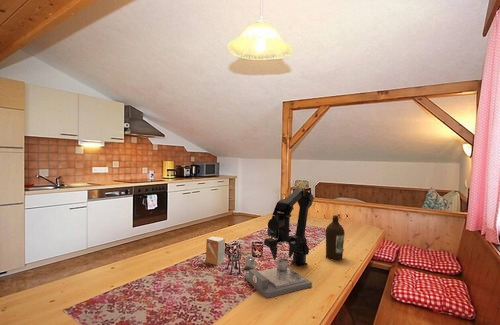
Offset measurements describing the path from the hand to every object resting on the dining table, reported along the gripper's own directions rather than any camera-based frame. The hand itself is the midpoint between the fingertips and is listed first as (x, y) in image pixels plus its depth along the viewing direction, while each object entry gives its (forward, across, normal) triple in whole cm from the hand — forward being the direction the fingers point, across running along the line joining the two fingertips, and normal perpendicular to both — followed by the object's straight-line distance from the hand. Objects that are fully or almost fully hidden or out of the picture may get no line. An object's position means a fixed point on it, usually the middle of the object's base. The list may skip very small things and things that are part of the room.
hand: (282, 258), depth 132 cm
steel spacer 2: (+6, 0, 0) cm, 6 cm away
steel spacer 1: (+9, +10, -15) cm, 20 cm away
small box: (+9, +24, -29) cm, 39 cm away
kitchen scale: (+9, +6, +5) cm, 12 cm away
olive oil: (+9, -43, -8) cm, 45 cm away
